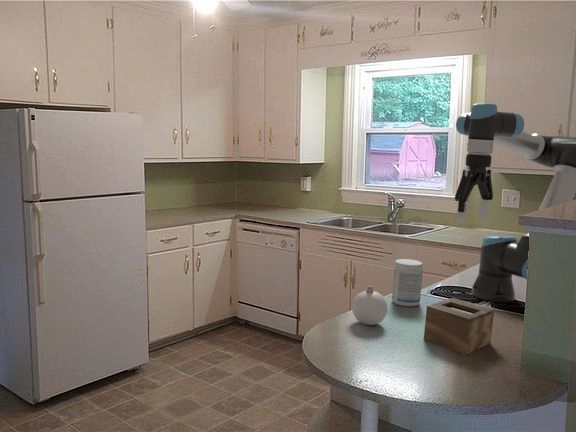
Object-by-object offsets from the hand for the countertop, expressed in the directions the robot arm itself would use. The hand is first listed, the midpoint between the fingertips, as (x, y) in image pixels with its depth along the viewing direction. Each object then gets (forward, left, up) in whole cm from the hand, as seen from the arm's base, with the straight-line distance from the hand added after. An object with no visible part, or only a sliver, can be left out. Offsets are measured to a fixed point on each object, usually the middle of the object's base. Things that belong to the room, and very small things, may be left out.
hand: (471, 221), depth 171 cm
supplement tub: (+4, -19, -32) cm, 37 cm away
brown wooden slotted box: (+22, +11, -32) cm, 40 cm away
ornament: (+32, -13, -32) cm, 47 cm away
